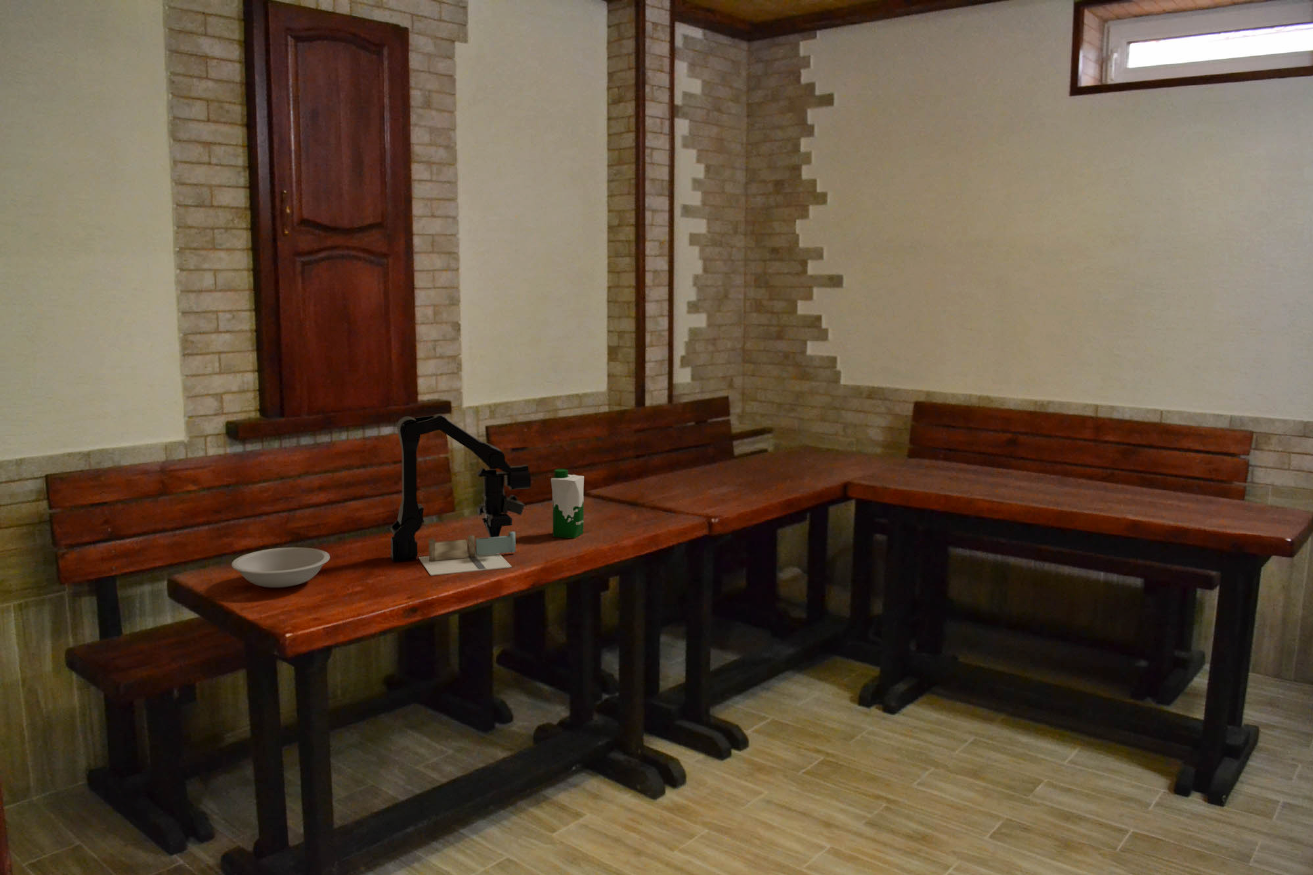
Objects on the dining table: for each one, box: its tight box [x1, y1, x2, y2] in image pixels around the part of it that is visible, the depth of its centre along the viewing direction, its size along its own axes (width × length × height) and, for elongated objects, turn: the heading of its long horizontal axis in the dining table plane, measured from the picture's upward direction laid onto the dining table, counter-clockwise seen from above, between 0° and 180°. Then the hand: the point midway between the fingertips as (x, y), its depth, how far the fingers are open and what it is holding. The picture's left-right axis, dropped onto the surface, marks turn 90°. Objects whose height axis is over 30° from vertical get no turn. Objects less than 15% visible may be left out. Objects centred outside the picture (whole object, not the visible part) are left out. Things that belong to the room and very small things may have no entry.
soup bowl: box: [231, 546, 331, 588], centre depth 287 cm, size 24×24×7 cm
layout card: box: [418, 551, 512, 577], centre depth 308 cm, size 22×18×1 cm
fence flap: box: [475, 531, 517, 555], centre depth 315 cm, size 11×2×6 cm, turn 112°
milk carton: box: [550, 468, 585, 539], centre depth 337 cm, size 9×9×20 cm
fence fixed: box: [428, 534, 476, 561], centre depth 310 cm, size 13×2×6 cm, turn 112°
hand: (495, 543), depth 320 cm, fingers closed
